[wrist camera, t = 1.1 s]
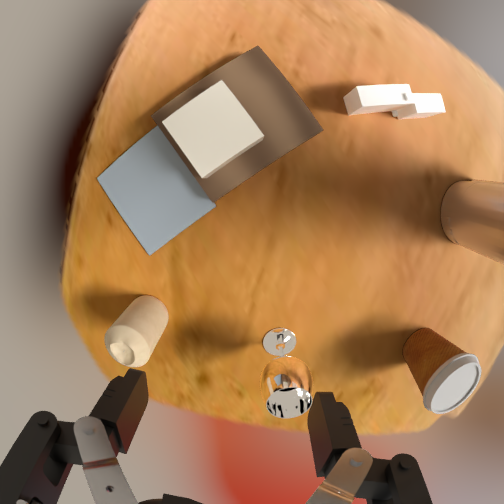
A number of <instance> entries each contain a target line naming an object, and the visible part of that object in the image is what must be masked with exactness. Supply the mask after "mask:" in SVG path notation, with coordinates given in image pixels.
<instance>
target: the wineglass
mask: <svg viewBox="0 0 504 504" xmlns="http://www.w3.org/2000/svg"><path fill="white" fill-rule="evenodd" d="M295 345H296V337H295V335H294V333H293V332H292V331H291V330H289V329H286V328H276V329H273V330H271V331H269V332H268V333H267V334H266V335H265V337H264V339H263V346H264V348H265V350H266V351H267V352H268V353H270V354H272V355H275V356H280V357H278V358H275V359H273V360H271V361H270V362H269V363H268V364H267V365H266V366H265V367H264V368H263V370H262V373H261V376H260V391H261V395H262V398H263V401H264V403H265V406H266V408H267V410H268V411H269V412H270V413H271V414H272V415H274V416H276V417H279V418H293V417H297V416H300V415H302V414H303V413H305V412H306V411H307V410H308V409H309V408H310V406H311V405H312V401H313V391H314V388H313V378H312V374H311V371H310V370H309V368H308V366H307V365H306V364H305V363H304V362H303V361H302V360H300V359H298V358H295V357H292V356H284V355H285V354H288V353H289V352H291V351H292V350H293V349H294V347H295Z"/></svg>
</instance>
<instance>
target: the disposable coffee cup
mask: <svg viewBox="0 0 504 504" xmlns="http://www.w3.org/2000/svg"><path fill="white" fill-rule="evenodd" d="M403 357H404V359H405V361H406V363H407V365H408V366H409V368H410V371H411V373H412V375H413V377H414V379H415V381H416V383H417V385H418V387H419V389H420V391H421V393H422V396H423V403H424V406H425V408H426V409H428V410H430V411H432V412H433V413H436V414H444V413H446V412H449V411H451V410H453V409H455V408H456V407H458V406H459V405H460V404H462V403H463V402H464V401H465V400H466V399H467V398H468V397H469V396H470V394H471V393H472V392H473V391H474V389H475V388H476V386H477V384H478V382H479V379H480V376H481V367H480V365H479V360H478V358H477V357H476V356H475V355H474V354H469V353H466V352H464V351H463V350H461V349H460V348H458V347H457V346H456V345H454V344H453V343H451V342H449V341H448V340H446V339H445V338H444V337H442V336H440V335H439V334H437V333H436V332H434V331H433V330H432V329H429V328H423V329H420V330H418V331H416V332H415V333H413V334H412V335H411V336H410V337H409V338H408V340H407V341H406V343H405V345H404V348H403Z"/></svg>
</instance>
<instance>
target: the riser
mask: <svg viewBox="0 0 504 504" xmlns="http://www.w3.org/2000/svg"><path fill="white" fill-rule="evenodd" d="M221 80H222V81H223V82H224V83H225V84H226V86H227V87H228V88H229V89H230V91H231V92H232V93H233V95H234V96H235V97H236V98H237V100H238V101H239V102H240V104H241V105H242V106H243V108H244V109H245V110H246V112H247V113H248V114H249V116H250V117H251V118H252V120H253V121H254V122H255V124H256V125H257V126H258V128H259V129H260V131H261V132H262V133H263V135H264V138H263V140H262V141H260V142H259V143H257V144H256V145H254V146H253V147H251V148H250V149H248V150H247V151H245V152H244V153H242V154H241V155H239V156H238V157H236V158H235V159H233V160H232V161H230V162H229V163H228V164H226V165H225V166H223V167H222V168H220V169H219V170H218V171H216V172H215V173H213V174H212V175H211V176H209V177H208V178H201V176H200V175H199V173H198V172H197V171H196V169H195V168H194V166H193V165H192V164H191V162H190V161H189V159H188V158H187V157H186V155H185V154H184V152H183V151H182V150H181V148H180V147H179V145H178V144H177V142H176V141H175V140H174V138H173V137H172V135H171V134H170V133H169V131H168V130H167V128H166V127H165V126H164V124H163V123H162V121H164V120H165V119H166V118H167V117H169V116H170V115H171V114H173V113H174V112H175V111H177V110H178V109H180V108H181V107H182V106H184V105H185V104H187V103H188V102H189V101H191V100H192V99H194V98H195V97H197V96H198V95H199V94H201V93H202V92H204V91H205V90H207V89H208V88H210V87H211V86H213V85H215V84H216V83H218V82H219V81H221ZM151 117H152V118H153V120H154V121H155V122H156V124H157V125H158V127H159V128H160V129H161V131H162V132H163V134H164V135H165V137H166V138H167V139H168V141H169V142H170V144H171V145H172V146H173V148H174V149H175V151H176V152H177V154H178V155H179V156H180V158H181V159H182V161H183V162H184V163H185V165H186V166H187V168H188V169H189V170H190V172H191V173H192V175H193V176H194V178H195V179H196V180H197V182H198V183H199V185H200V186H201V187H202V189H203V190H204V192H205V193H206V194H207V196H208V197H209V199H210V200H211V201H212V203H214V202H215V201H217V200H218V199H220V198H221V197H223V196H224V195H225V194H227V193H228V192H230V191H231V190H233V189H234V188H235V187H237V186H238V185H240V184H241V183H243V182H244V181H246V180H247V179H249V178H250V177H251V176H253V175H254V174H256V173H257V172H259V171H260V170H262V169H263V168H265V167H266V166H268V165H269V164H271V163H273V162H274V161H276V160H277V159H279V158H280V157H282V156H283V155H285V154H286V153H288V152H289V151H291V150H293V149H294V148H296V147H297V146H299V145H301V144H302V143H304V142H305V141H307V140H309V139H310V138H312V137H313V136H315V135H317V134H318V133H320V132H321V131H323V129H322V127H321V126H320V124H319V123H318V121H317V120H316V119H315V117H314V116H313V114H312V113H311V112H310V110H309V109H308V107H307V106H306V105H305V103H304V102H303V101H302V99H301V98H300V96H299V95H298V94H297V93H296V91H295V90H294V89H293V87H292V86H291V85H290V83H289V82H288V81H287V80H286V78H285V77H284V76H283V75H282V73H281V72H280V71H279V70H278V68H277V67H276V66H275V65H274V63H273V62H272V61H271V60H270V59H269V57H268V56H267V55H266V54H265V53H264V52H263V50H262V49H261V48H260V47H259V46H256V47H255V48H253V49H251V50H249V51H247V52H245V53H244V54H242V55H240V56H238V57H237V58H235V59H233V60H231V61H230V62H228V63H226V64H225V65H223V66H221V67H220V68H218V69H217V70H215V71H213V72H212V73H210V74H209V75H207V76H206V77H204V78H202V79H201V80H199V81H198V82H196V83H195V84H193V85H192V86H191V87H189V88H188V89H186V90H185V91H183V92H182V93H181V94H179V95H178V96H176V97H175V98H174V99H172V100H171V101H170V102H168V103H167V104H166V105H164V106H163V107H162V108H160V109H159V110H158V111H156V112H155V113H154V114H153V115H151Z"/></svg>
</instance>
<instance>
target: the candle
mask: <svg viewBox="0 0 504 504" xmlns="http://www.w3.org/2000/svg"><path fill="white" fill-rule="evenodd" d="M168 318H169V317H168V311H167V309H166V307H165V305H164V304H163V303H162V302H161V301H160V300H159V299H157V298H155V297H153V296H149V295H143V296H140V297H138V298H136V299H135V300H134V301H133V302H132V303H131V304H130V305H129V306H128V307H127V308H126V310H125V311H124V312H123V313H122V314H121V315H120V316H119V318H118V319H117V320H116V321H115V322H114V323H113V324H112V326H111V327H110V328H109V329H108V330H107V332H106V334H105V345H106V348H107V350H108V352H109V353H110V355H111V356H112V357H113V358H114V359H115V360H116V361H117V362H119V363H121V364H123V365H125V366H129V367H140V366H142V365H144V364H145V363H146V362H147V361H148V359H149V358H150V356H151V354H152V352H153V350H154V348H155V346H156V344H157V342H158V341H159V339H160V337H161V335H162V333H163V331H164V329H165V327H166V325H167V323H168Z"/></svg>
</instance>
